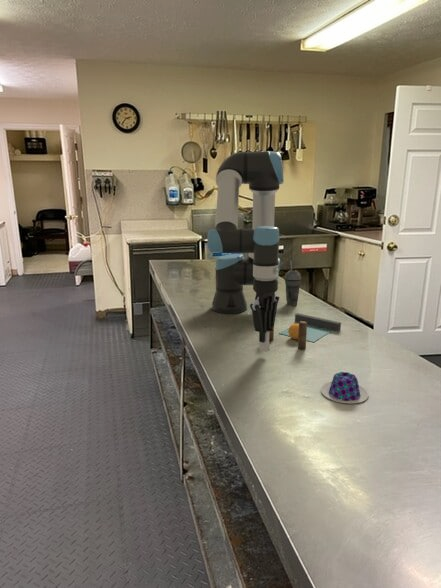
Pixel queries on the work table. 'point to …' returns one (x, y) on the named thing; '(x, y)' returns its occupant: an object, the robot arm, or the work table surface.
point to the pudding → (344, 388)
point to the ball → (294, 331)
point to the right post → (302, 335)
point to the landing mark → (311, 333)
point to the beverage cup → (292, 286)
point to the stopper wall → (318, 322)
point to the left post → (271, 335)
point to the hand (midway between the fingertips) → (264, 350)
